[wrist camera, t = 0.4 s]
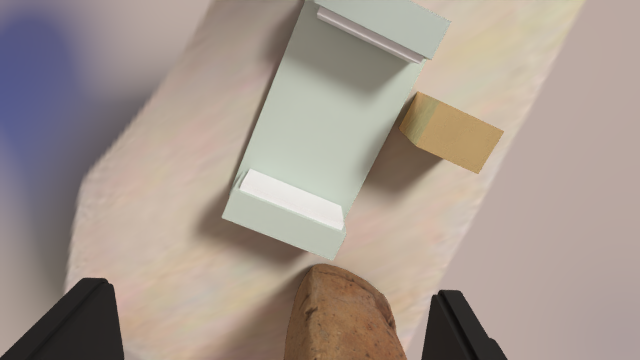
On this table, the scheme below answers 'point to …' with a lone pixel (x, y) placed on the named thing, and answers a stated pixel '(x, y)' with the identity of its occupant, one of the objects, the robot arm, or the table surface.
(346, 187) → the vise body
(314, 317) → the block
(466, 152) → the tan rectangular workpiece
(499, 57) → the table surface
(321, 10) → the sliding jaw
